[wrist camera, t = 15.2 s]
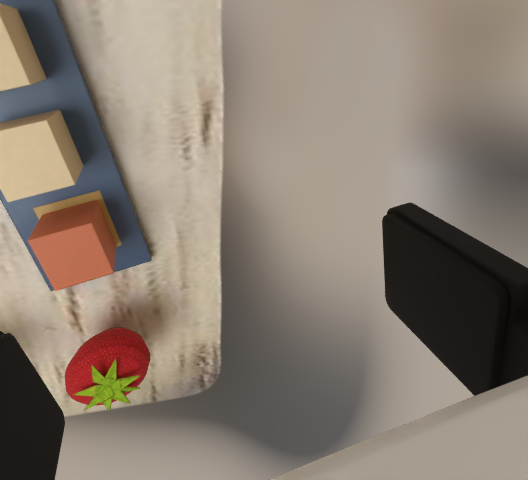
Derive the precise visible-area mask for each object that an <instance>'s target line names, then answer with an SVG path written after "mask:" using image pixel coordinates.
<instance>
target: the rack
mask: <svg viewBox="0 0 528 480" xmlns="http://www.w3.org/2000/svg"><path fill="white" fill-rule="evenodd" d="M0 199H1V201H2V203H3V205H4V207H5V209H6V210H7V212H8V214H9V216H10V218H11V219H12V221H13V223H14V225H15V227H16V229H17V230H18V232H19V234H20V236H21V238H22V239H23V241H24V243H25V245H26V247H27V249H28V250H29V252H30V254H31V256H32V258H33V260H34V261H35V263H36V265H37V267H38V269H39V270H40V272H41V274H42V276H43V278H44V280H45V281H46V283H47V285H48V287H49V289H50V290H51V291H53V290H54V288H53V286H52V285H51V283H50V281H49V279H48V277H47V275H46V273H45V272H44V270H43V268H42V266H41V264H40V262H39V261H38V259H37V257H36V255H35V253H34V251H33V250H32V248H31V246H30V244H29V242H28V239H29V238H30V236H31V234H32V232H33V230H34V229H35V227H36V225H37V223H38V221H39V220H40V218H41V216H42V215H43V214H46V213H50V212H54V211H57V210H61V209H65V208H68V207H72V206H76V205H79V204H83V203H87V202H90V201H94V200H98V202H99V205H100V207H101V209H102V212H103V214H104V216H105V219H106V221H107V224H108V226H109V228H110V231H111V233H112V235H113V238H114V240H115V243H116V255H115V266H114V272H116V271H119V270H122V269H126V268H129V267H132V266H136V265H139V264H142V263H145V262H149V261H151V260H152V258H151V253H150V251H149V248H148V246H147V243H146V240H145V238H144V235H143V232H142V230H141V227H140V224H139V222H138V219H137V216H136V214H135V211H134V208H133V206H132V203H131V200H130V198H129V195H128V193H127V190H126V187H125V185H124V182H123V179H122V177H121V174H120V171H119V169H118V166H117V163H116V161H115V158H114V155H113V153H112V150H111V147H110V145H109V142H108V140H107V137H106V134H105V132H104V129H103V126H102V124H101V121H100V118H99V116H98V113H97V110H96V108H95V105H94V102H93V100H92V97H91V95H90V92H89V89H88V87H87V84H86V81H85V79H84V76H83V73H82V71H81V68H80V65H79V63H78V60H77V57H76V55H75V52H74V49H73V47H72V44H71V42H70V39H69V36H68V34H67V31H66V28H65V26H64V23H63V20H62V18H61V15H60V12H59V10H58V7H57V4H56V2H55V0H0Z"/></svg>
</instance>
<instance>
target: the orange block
mask: <svg viewBox="0 0 528 480" xmlns="http://www.w3.org/2000/svg"><path fill="white" fill-rule="evenodd" d="M28 242H29V244H30V246H31V248H32V250H33V251H34V253H35V255H36V257H37V259H38V261H39V262H40V264H41V266H42V268H43V270H44V272H45V273H46V275H47V277H48V279H49V281H50V283H51V285H52V286H53V288H54V290H55V291H56V290H60V289H63V288H66V287H70V286H73V285H76V284H79V283H83V282H86V281H89V280H93V279H96V278H99V277H103V276H106V275H109V274H113V273H114V266H115V255H116V243H115V240H114V238H113V235H112V233H111V231H110V228H109V226H108V224H107V221H106V219H105V216H104V214H103V212H102V209H101V207H100V205H99V202H98V200H94V201H90V202H87V203H83V204H79V205H76V206H72V207H68V208H65V209H61V210H57V211H54V212H50V213H46V214H43V215H42V216H41V218H40V220H39V221H38V223H37V225H36V227H35V229H34V230H33V232H32V234H31V236H30V238H29V239H28Z"/></svg>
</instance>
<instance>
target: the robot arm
mask: <svg viewBox="0 0 528 480" xmlns="http://www.w3.org/2000/svg"><path fill="white" fill-rule="evenodd" d="M382 227H383V251H384V273H385V297H386V301H387V304H388V306H389V308H390V309H391V310H392V311H393V312H394V313H395V314H396V315H397V316H398V317H399V319H400V320H401V321H402V322H403V323H405V325H406V326H407V327H408V328H409V329H410V330H411V331H412V332H413V333H414V334H415V335H416V336H417V337H418V338H419V339H420V340H421V341H422V342H423V343H424V344H425V345H426V346H427V347H428V348H429V349H430V350H431V351H432V352H433V353H434V355H435V356H436V357H437V358H439V360H440V361H441V362H442V363H443V364H444V365H445V366H446V367H447V368H448V369H449V370H450V371H451V372H452V373H453V374H454V375H455V376H456V377H457V378H458V379H459V380H460V381H461V382H462V383H463V384H464V385H465V386H466V387H467V388H468V389H469V391H470V392H472V394H473V395H474V396H473V397H471V398H468V399H466V400H464V401H461V402H459V403H456V404H454V405H451V406H449V407H446V408H444V409H441V410H439V411H436V412H434V413H432V414H429V415H427V416H424V417H422V418H419V419H417V420H414V421H412V422H410V423H407V424H404V425H402V426H399V427H397V428H395V429H392V430H390V431H387V432H385V433H382V434H380V435H377V436H375V437H372V438H370V439H367V440H365V441H363V442H360V443H358V444H355V445H353V446H350V447H348V448H346V449H343V450H341V451H338V452H336V453H333V454H331V455H329V456H326V457H324V458H321V459H319V460H316V461H314V462H312V463H309V464H307V465H304V466H302V467H299V468H297V469H294V470H292V471H290V472H287V473H285V474H283V475H280V476H278V477H275V478H273V479H270V480H528V268H526V267H525V266H523V265H521V264H519V263H518V262H515V261H514V260H512V259H511V258H509V257H507V256H505V255H503V254H502V253H500V252H498V251H496V250H495V249H493V248H491V247H489V246H488V245H486V244H484V243H482V242H480V241H479V240H477V239H475V238H473V237H472V236H469V235H468V234H466V233H464V232H463V231H461V230H459V229H457V228H456V227H454V226H452V225H450V224H448V223H447V222H445V221H443V220H441V219H440V218H438V217H436V216H434V215H433V214H431V213H429V212H427V211H426V210H424V209H422V208H420V207H418V206H417V205H415V204H413V203H407V204H403V205H400V206H397V207H393V208H390V209H389V210H388V212H387V215H386V216H384V217H383V220H382ZM64 425H65V421H64V415H63V412H62V410H61V408H60V407H59V405H58V404H57V402H56V401H55V399H54V397H53V396H52V394H51V393H50V391H49V390H48V388H47V387H46V385H45V384H44V382H43V380H42V379H41V377H40V376H39V374H38V373H37V371H36V370H35V368H34V366H33V365H32V363H31V362H30V360H29V359H28V357H27V356H26V354H25V353H24V351H23V349H22V348H21V346H20V345H19V343H18V342H17V340H16V339H15V337H14V336H13V335H12V334H10V333H7V334H4V333H3V332H1V331H0V480H55V474H56V469H57V464H58V459H59V453H60V447H61V443H62V437H63V432H64Z"/></svg>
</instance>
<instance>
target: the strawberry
mask: <svg viewBox="0 0 528 480" xmlns="http://www.w3.org/2000/svg"><path fill="white" fill-rule="evenodd" d="M149 362H150V352H149V349H148V347H147V346H146V344H145V342H144V340H143V339H142V337H141V336H140V335H139V334H137V333H136V332H133V331H131V330H128V329H125V328H111V329H107V330H105V331H103V332H101V333H99V334H97V335H95V336H94V337H92V338H90V339H89V340H88V341H86V342H85V343H84V344H83V345H82V346H81V347H80V348H79V350H78V351H77V352H76V354H75V355H74V357H73V358H72V360H71V361H70V363H69V364H68V366H67V369H66V372H65V385H66V391H67V393H68V395H69V396H70V397H71V398H72V399H74V400H76V401H77V402H80V403H84V404H87V407H86V408H85V409H84V410H86V409H88V408H90V407H92V406H94V405H103V404H104V405H105V406H106V407H107V409H108V410H109V411H110V408H111V402H114V401H116V400H118V401H121V402H125V403H129V404H130V401H129V400H128V399H127V397H126V395H127V394H129V393H130V392H131V391H133V390H137V389H140V387H137V386H138V385H139V384H140V383H141V382H142V381H143V379H144V377H145V375H146V374H147V370H148V366H149Z"/></svg>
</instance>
